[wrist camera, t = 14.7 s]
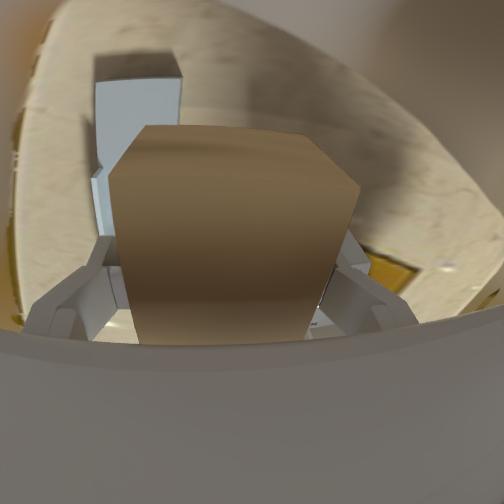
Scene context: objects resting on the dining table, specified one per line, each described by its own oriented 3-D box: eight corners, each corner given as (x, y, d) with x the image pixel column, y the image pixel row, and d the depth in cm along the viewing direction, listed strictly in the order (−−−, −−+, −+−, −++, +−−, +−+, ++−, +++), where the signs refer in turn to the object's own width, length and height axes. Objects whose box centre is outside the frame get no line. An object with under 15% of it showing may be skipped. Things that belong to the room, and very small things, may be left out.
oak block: (272, 274, 12) (296, 353, 9) (153, 273, 11) (143, 358, 8) (304, 134, 9) (361, 188, 6) (145, 124, 8) (107, 176, 5)
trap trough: (177, 268, 39) (176, 297, 35) (120, 267, 38) (113, 296, 34) (182, 76, 24) (178, 80, 20) (105, 79, 23) (86, 85, 18)
